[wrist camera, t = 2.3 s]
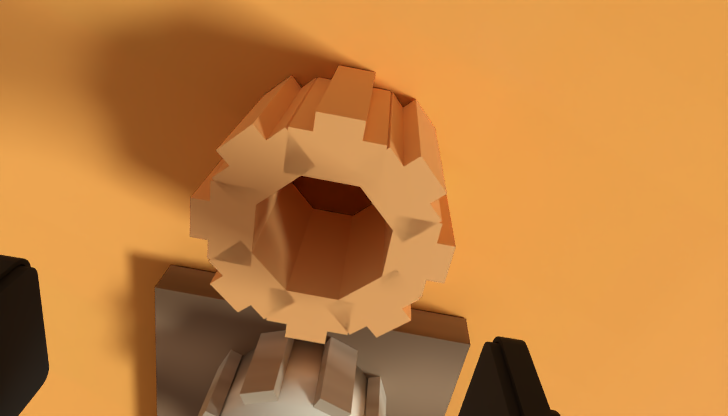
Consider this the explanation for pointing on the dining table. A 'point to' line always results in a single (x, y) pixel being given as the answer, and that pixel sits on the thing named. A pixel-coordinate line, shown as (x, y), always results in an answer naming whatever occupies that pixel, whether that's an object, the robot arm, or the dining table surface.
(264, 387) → the gear board
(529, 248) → the dining table surface
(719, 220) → the dining table surface
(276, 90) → the orange gear
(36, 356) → the robot arm
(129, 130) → the dining table surface
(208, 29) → the dining table surface
